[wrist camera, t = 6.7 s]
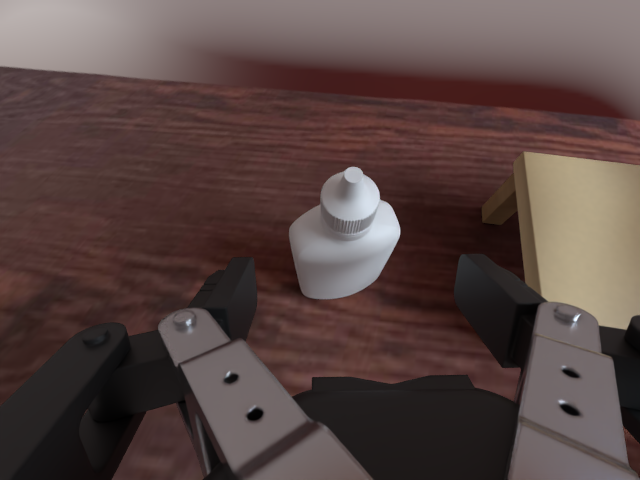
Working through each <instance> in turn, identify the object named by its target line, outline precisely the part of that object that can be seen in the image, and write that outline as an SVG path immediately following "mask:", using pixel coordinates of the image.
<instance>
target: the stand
mask: <svg viewBox="0 0 640 480" xmlns="http://www.w3.org/2000/svg"><path fill="white" fill-rule="evenodd" d="M513 170H514V173H513V174H512V175H511V176H510V177H509V178H508V179H507V180H506V181H505V182H504V184H503V185H502V186H501V187H500V188H499V189H498V190H497V191H496V192H495V193H494V194H493V195H492V196H491V198H490V199H489V200H488V201H487V202H486V203H485V204H484V205H483V206H482V222H483V223H489V224H496V225H501V224H503V223H504V222H505V221H506V220H507V219H508V218H510V217H511V216H512V215H513V214H514V213H515V212H516V211H518V217H519V227H520V236H521V246H522V255H523V265H524V274H525V283H526V284H527V285H528V287H531V288H532V289H533V290H535V291H536V292H537V293H538V294H540V295H541V296H542V297H543V298H545V299H546V300H547V301H548V302H560V303H565V304H569V305H573V306H576V307H578V308H581V309H583V310H585V311H587V312H588V313H590V314H591V315H593V316H594V317H595V318H596V319H597V321H598V324H599V325H600V326H606V327H613V328H619V329H625V330H627V328H628V325H629V323H630V320H631V318H632V317H633V316H636V315H640V165H632V164H623V163H615V162H607V161H598V160H590V159H582V158H573V157H565V156H557V155H548V154H540V153H532V152H523V153H522V154H521V155H520V156H519V157H518V158H517V159H516V160H515V162H514V163H513Z"/></svg>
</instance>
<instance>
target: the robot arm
mask: <svg viewBox="0 0 640 480" xmlns="http://www.w3.org/2000/svg"><path fill="white" fill-rule="evenodd" d="M454 298H455V303H456V305H457V307H458V308H459V310H460V311H461V312H462V314H463V315H464V316H465V318H466V319H467V320H468V322H469V323H470V324H471V326H472V327H473V329H474V330H475V331H476V333H477V334H478V335H479V337H480V338H481V339H482V341H483V342H484V343H485V345H486V346H487V348H488V349H489V350H490V352H491V353H492V354H493V356H494V357H495V358H496V360H497V361H498V363H499V364H500V365H501V367H502V368H519V367H520V368H521V372H520V376H519V380H518V385H517V389H516V394H515V398H514V402H513V401H511V400H509V399H507V398H505V397H503V396H500V395H498V394H495V393H492V392H490V391H486V390H482V389H479V388H474V386H473V384H472V382H471V381H470V379H469V377H468V375H430V376H425V377H421V378H417V379H412V380H408V381H404V382H400V383H396V384H387V383H381V382H376V381H371V380H365V379H360V378H354V377H312V390H309V391H305V392H302V393H299V394H297V395H295V396H293V397H291V396H290V395H289V393H288V392H287V391H286V390H285V389H284V387H283V386H282V385H281V384H280V383H279V382H278V380H277V379H276V378H275V377H274V376H273V374H272V373H271V372H270V371H269V370H268V368H267V367H266V366H265V365H264V364H263V363H262V361H261V360H260V359H259V358H258V357H257V355H256V354H255V353H254V352H253V351H252V349H251V348H250V347H249V346H248V345H247V343H246V338H247V335H248V332H249V329H250V326H251V323H252V320H253V317H254V314H255V311H256V307H257V287H256V277H255V267H254V260H253V258H252V257H234V258H232V259H231V261H230V262H229V264H228V266H227V267H226V269H225V270H218V271H216V272H215V273H213V274H212V275H210V276H209V277H208V278H207V280H206V281H205V283H204V285H203V286H202V287H201V289H200V292H198V293H197V294H196V296H195V297H194V299H193V300H192V302H191V303H190V305H189V306H188V307H187V308H185V309H181V310H178V311H175V312H173V313H171V314H169V315H167V316H166V317H165V318H163V319H162V320H161V322H160V323H159V325H158V330H156V331H152V332H147V333H142V334H137V335H132V336H128V333H127V330H126V327H125V326H124V325H123V324H120V323H104V324H99V325H95V326H92V327H90V328H87V329H85V330H83V331H81V332H79V333H77V334H76V335H74V336H73V337H72V338H71V339H69V340H68V341H67V342H66V343H65V344H64V345H63V346H62V347H61V348H60V349H59V350H58V351H57V352H56V353H55V354H54V355H53V356H52V357H51V358H50V359H49V360H48V361H47V362H46V363H45V364H44V365H43V366H41V367H40V368H39V369H38V370H37V371H36V372H35V373H34V374H33V375H32V376H31V377H30V378H29V379H28V380H27V381H26V382H25V383H24V384H23V385H22V386H21V387H20V388H19V389H18V390H17V391H16V392H15V393H14V394H13V395H12V396H11V397H10V398H8V399H7V400H6V401H5V402H4V403H3V404H2V405H1V406H0V480H112V478H113V476H114V474H115V472H116V470H117V468H118V466H119V464H120V462H121V460H122V458H123V456H124V454H125V452H126V450H127V448H128V447H129V445H130V443H131V441H132V439H133V437H134V435H135V433H136V431H137V429H138V427H139V425H140V423H141V421H142V419H143V417H144V415H145V414H146V411H148V410H152V409H155V408H159V407H163V406H166V405H170V404H173V403H176V405H177V408H178V410H179V413H180V415H181V417H182V420H183V422H184V425H185V427H186V430H187V432H188V434H189V437H190V439H191V442H192V444H193V447H194V449H195V452H196V454H197V457H198V460H199V464H200V467H201V470H202V473H203V477H204V479H203V480H640V479H639V477H638V475H637V473H636V472H635V471H634V470H632V469H631V468H630V466H629V464H628V458H627V452H626V445H625V438H624V431H623V426H624V427H625V428H626V429H627V430H628V431H629V432H630V434H631V435H632V436H633V437H634V438H635V439H636V440H637V441H638V442H639V443H640V315H636V316H633V317H632V318H631V320H630V323H629V325H628V328H627V330H625V329H619V328H613V327H606V326H600V325H599V324H598V321H597V319H596V318H595V317H594V316H593V315H591V314H590V313H588V312H587V311H585V310H583V309H581V308H578V307H576V306H573V305H569V304H565V303H560V302H548V301H547V300H546V299H545V298H543V297H542V296H541V295H540V294H538V293H537V292H536V291H535V290H533V289H532V288H531V287H528V285H527V284H526V283H525V282H523V281H521V280H520V278H518V277H517V276H516V275H515V274H513V273H512V272H510V271H508V270H506V269H504V268H502V267H500V266H498V265H497V264H495V263H494V262H493V261H492V260H490V259H489V258H488V257H487V256H486V255H484V254H462V255H461V256H460V258H459V263H458V269H457V275H456V282H455V288H454ZM87 408H88V410H87ZM86 410H87V412H86V413H85V411H86ZM84 413H85V415H84ZM83 415H84V416H83Z"/></svg>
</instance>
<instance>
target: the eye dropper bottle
mask: <svg viewBox="0 0 640 480" xmlns="http://www.w3.org/2000/svg"><path fill="white" fill-rule="evenodd" d="M379 195H380V193H379V190H378V188H377V186H376V185H375V183H374V182H373V181H372V180H371V179H370V178H369V177H367V176H365V175H364V174H363V172H362V171H361V170H360V169H359V168H357V167H350V168H348V169H346V170H345V172H341V173H338V174H335V175H333V176H332V177H331V178H329V179H328V180H327V181H326V182H325V184H324V185H323V187H322V190H321V195H320V202H321V204H320V205H318V206H316V207H314V208H312V209H311V210H309V211H308V212H306V213H305V214H303V215H302V216H300V217H299V218H298V219H297V220H296V221H295V222H293V224H292V225H291V227H290V228H289V239H290V245H291V250H292V254H293V259H294V263H295V268H296V272H297V277H298V281H299V285H300V288H301V291H302V293H303V295H305V296H307V297H309V298H314V299H336V298H341V297H346V296H349V295H352V294H354V293H357V292H359V291H361V290H362V289H364V288H366V287H367V286H369V285H370V284H372V283H373V282H374V281H375V280H376V279H377V278H378V276H379V275H380V273H381V271H382V269H383V267H384V266H385V264H386V262H387V260H388V258H389V257H390V255H391V253H392V251H393V249H394V247H395V245H396V243H397V241H398V239H399V237H400V226H399V223H398V220H397V217H396V215H395V213H394V211H393V209H392V207H391V206H390V205H389V204H388V203H387V202H385V201H382V200H380V196H379Z"/></svg>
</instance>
